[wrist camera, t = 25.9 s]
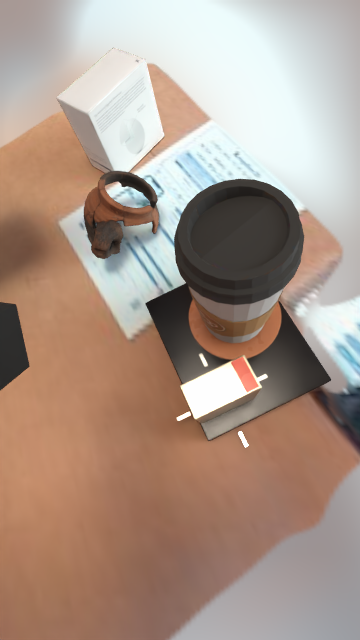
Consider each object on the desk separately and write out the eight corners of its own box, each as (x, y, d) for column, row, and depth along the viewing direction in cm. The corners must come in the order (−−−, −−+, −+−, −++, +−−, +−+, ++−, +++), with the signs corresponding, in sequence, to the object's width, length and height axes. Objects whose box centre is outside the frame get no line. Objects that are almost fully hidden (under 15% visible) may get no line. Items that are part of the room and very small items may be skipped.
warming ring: (174, 299, 34) (174, 297, 34) (251, 261, 35) (251, 260, 34) (213, 376, 31) (213, 375, 31) (299, 334, 31) (299, 333, 31)
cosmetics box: (135, 121, 49) (112, 44, 39) (165, 136, 47) (148, 58, 37) (89, 165, 47) (53, 95, 37) (118, 182, 45) (88, 113, 35)
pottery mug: (91, 207, 45) (99, 154, 38) (153, 230, 47) (171, 183, 40) (64, 267, 38) (68, 216, 31) (138, 290, 40) (156, 247, 34)
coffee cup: (178, 313, 33) (142, 227, 20) (235, 266, 34) (240, 152, 20) (231, 371, 30) (233, 318, 17) (292, 317, 31) (343, 224, 18)
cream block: (202, 423, 29) (194, 420, 22) (190, 396, 30) (178, 384, 23) (254, 398, 30) (262, 387, 22) (240, 372, 31) (244, 353, 23)
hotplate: (136, 317, 37) (129, 309, 35) (246, 264, 37) (248, 252, 35) (201, 467, 30) (199, 470, 28) (335, 400, 31) (344, 398, 28)
